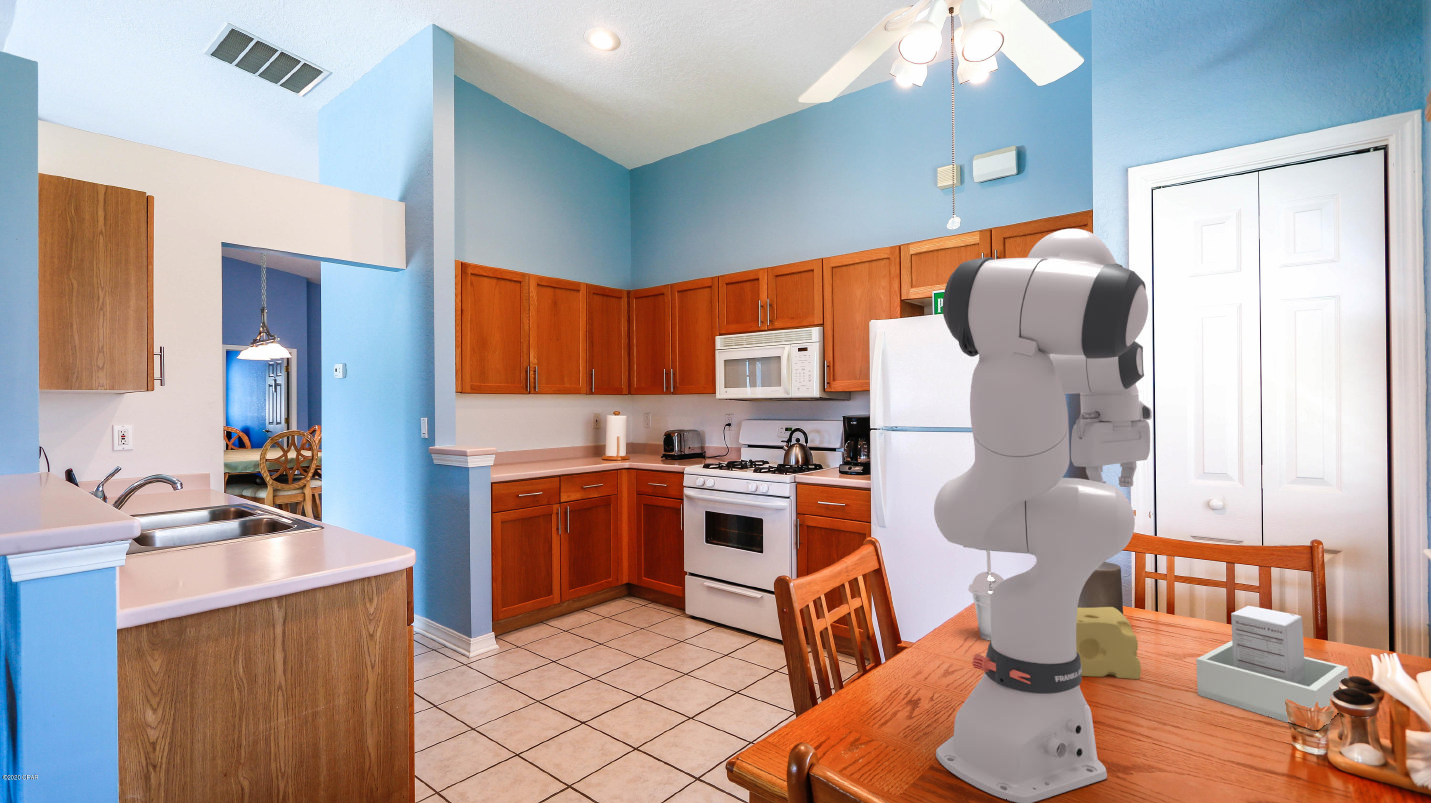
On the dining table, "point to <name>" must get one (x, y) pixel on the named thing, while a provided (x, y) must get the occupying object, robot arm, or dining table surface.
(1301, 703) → the box
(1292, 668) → the supplement box
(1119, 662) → the cheese
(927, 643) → the dining table surface
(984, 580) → the cup with straw
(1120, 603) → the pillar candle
